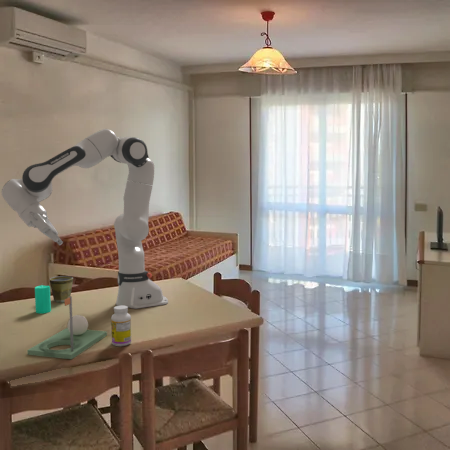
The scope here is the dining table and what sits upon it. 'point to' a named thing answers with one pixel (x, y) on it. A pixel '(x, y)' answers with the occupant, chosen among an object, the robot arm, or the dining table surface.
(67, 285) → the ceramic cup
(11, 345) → the dining table surface
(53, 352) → the green
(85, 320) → the ball
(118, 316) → the supplement bottle
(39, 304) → the candle
